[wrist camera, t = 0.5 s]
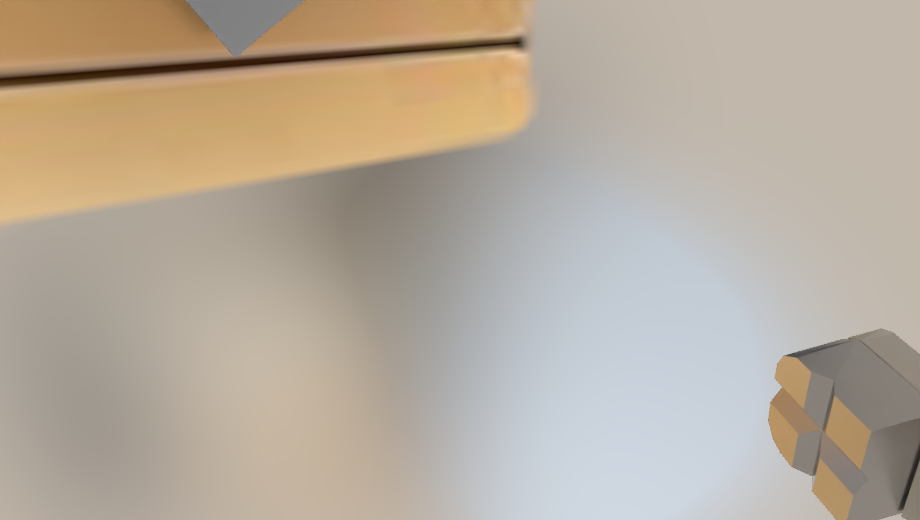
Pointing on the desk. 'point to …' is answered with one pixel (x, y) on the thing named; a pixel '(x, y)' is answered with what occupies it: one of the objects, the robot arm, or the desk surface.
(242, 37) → the console
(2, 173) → the desk surface
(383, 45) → the desk surface
